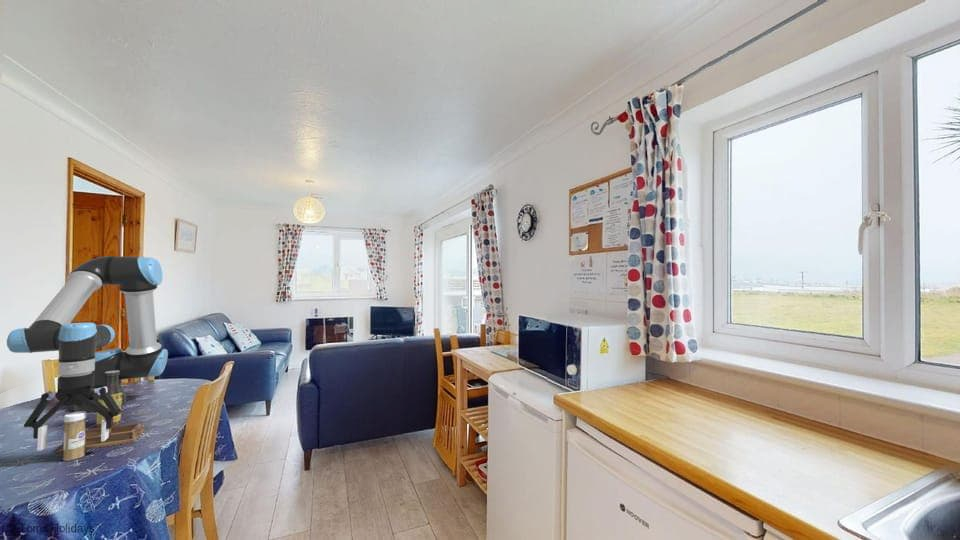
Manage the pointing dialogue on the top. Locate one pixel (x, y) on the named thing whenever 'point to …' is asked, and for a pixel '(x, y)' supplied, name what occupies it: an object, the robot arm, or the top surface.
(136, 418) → the top surface
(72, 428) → the sprinkles bottle
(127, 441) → the slot rack
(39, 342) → the robot arm
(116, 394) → the sauce bottle
